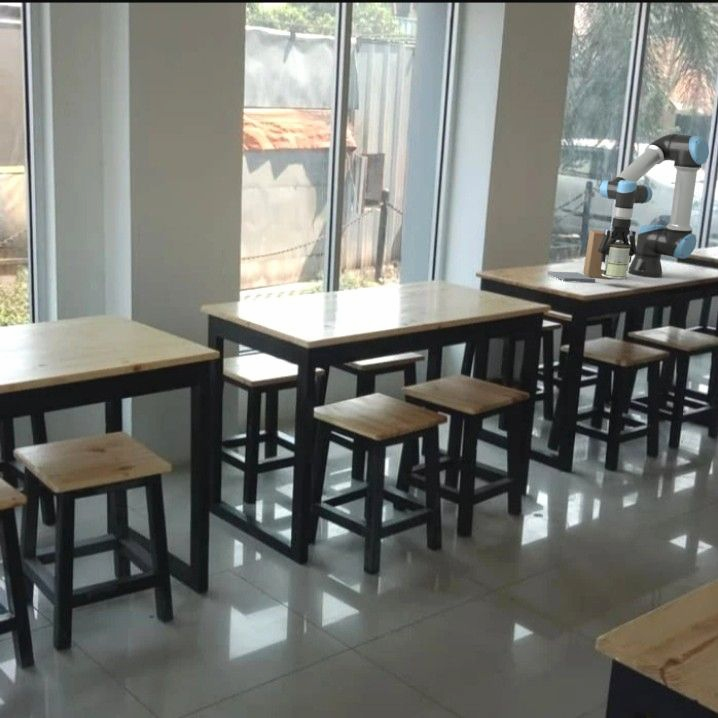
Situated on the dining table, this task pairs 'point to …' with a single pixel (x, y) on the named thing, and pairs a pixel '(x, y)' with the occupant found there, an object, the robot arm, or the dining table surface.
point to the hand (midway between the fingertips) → (614, 269)
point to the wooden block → (594, 255)
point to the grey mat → (571, 276)
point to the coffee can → (617, 260)
